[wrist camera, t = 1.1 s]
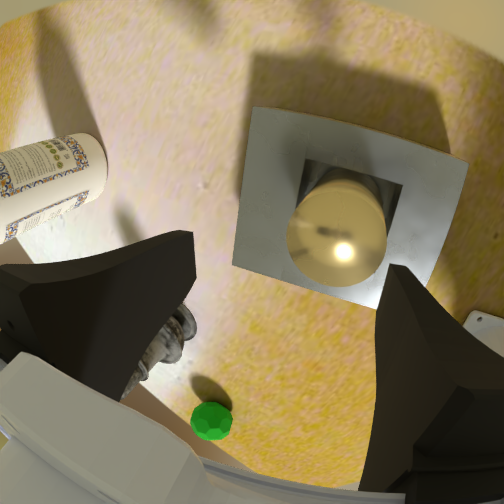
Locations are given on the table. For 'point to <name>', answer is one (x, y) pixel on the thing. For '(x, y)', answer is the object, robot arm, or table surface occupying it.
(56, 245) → the table surface
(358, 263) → the plug
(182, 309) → the grey chess piece
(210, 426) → the polyhedron
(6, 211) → the bath foam
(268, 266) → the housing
